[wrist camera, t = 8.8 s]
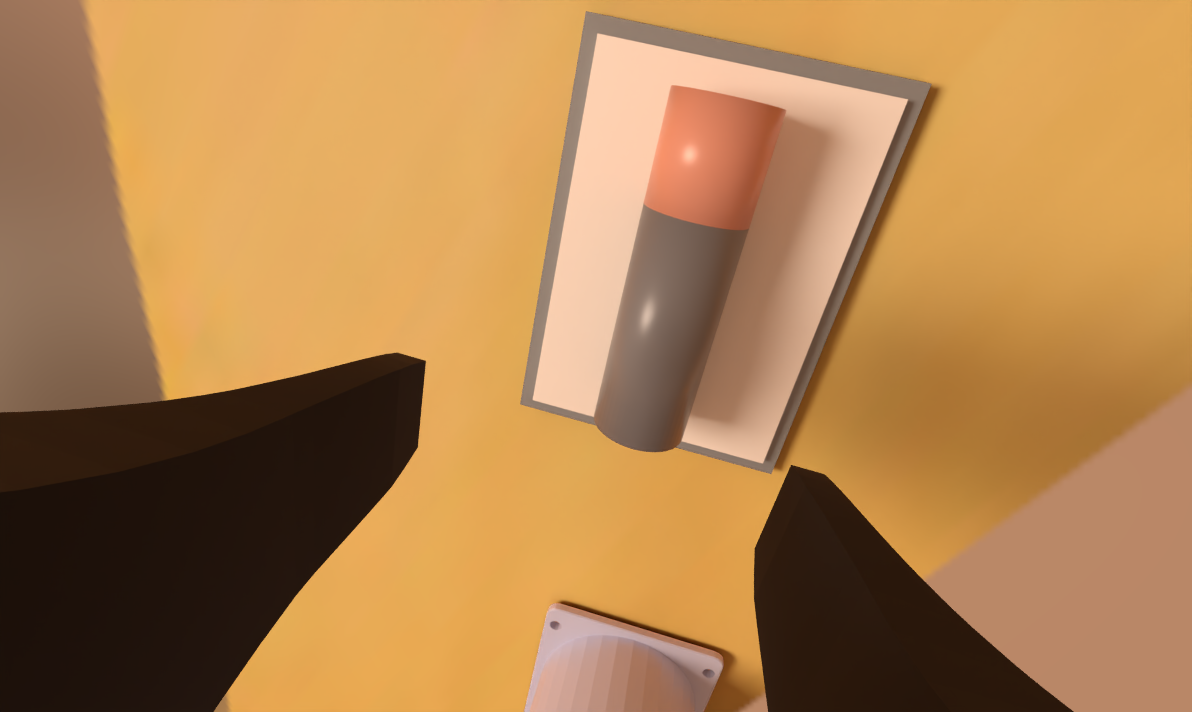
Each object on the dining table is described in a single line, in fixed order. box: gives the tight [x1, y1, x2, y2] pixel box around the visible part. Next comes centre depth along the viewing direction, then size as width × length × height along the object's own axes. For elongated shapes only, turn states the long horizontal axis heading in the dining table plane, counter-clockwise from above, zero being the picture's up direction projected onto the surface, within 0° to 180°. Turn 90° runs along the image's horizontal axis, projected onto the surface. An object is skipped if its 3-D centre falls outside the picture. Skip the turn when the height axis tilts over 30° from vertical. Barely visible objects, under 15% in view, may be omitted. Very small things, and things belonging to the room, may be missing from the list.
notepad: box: [520, 11, 931, 474], centre depth 18 cm, size 13×10×1 cm
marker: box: [594, 85, 786, 452], centre depth 16 cm, size 10×3×3 cm, turn 168°
